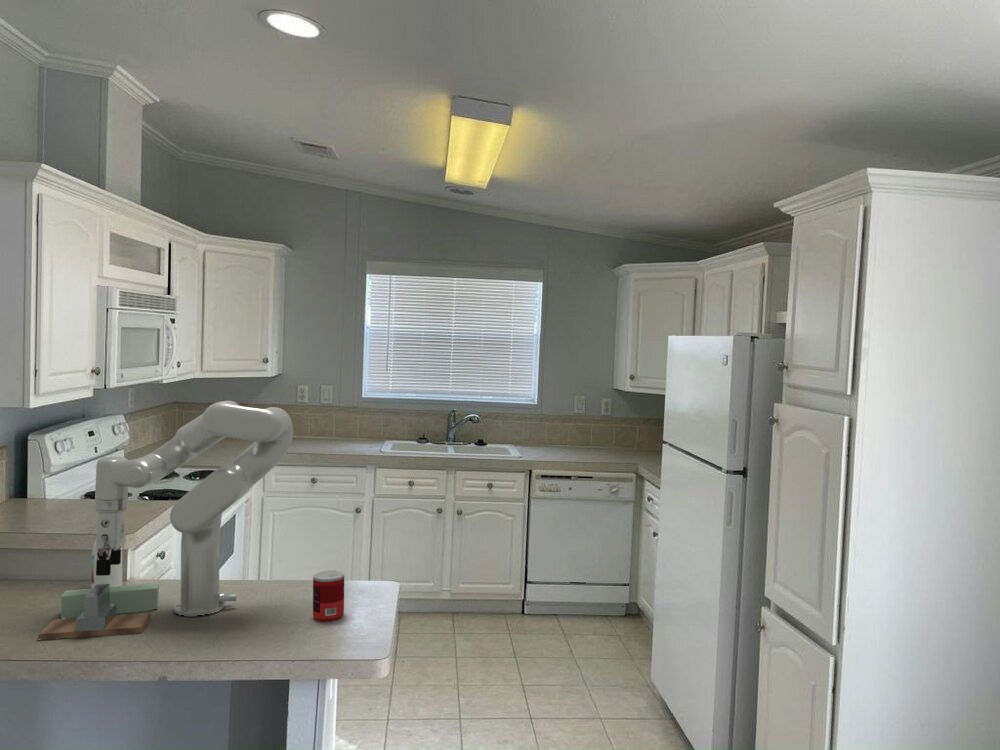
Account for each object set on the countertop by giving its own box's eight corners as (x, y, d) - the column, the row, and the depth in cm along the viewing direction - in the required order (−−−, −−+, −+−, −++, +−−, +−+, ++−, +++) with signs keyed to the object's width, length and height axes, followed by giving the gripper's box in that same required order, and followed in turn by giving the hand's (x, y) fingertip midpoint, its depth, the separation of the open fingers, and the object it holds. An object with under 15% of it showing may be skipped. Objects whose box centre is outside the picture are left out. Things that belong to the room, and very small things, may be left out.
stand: (150, 618, 183) (150, 581, 183) (141, 633, 173) (141, 593, 173) (53, 625, 177) (53, 587, 177) (38, 640, 168) (38, 600, 167)
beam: (158, 604, 194) (159, 582, 194) (157, 610, 189) (157, 588, 189) (65, 613, 186) (65, 590, 186) (61, 620, 182) (61, 596, 182)
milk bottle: (128, 586, 208) (128, 518, 208) (109, 595, 200) (109, 524, 200) (104, 585, 209) (105, 516, 209) (84, 593, 202) (85, 522, 201)
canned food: (349, 614, 188) (350, 572, 188) (330, 624, 181) (331, 581, 181) (326, 609, 191) (326, 568, 191) (306, 619, 184) (306, 576, 184)
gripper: (118, 511, 180) (115, 579, 180) (135, 498, 197) (132, 560, 197) (84, 511, 178) (82, 580, 178) (104, 498, 195) (102, 560, 195)
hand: (108, 569), depth 188 cm, fingers open, 9 cm apart
